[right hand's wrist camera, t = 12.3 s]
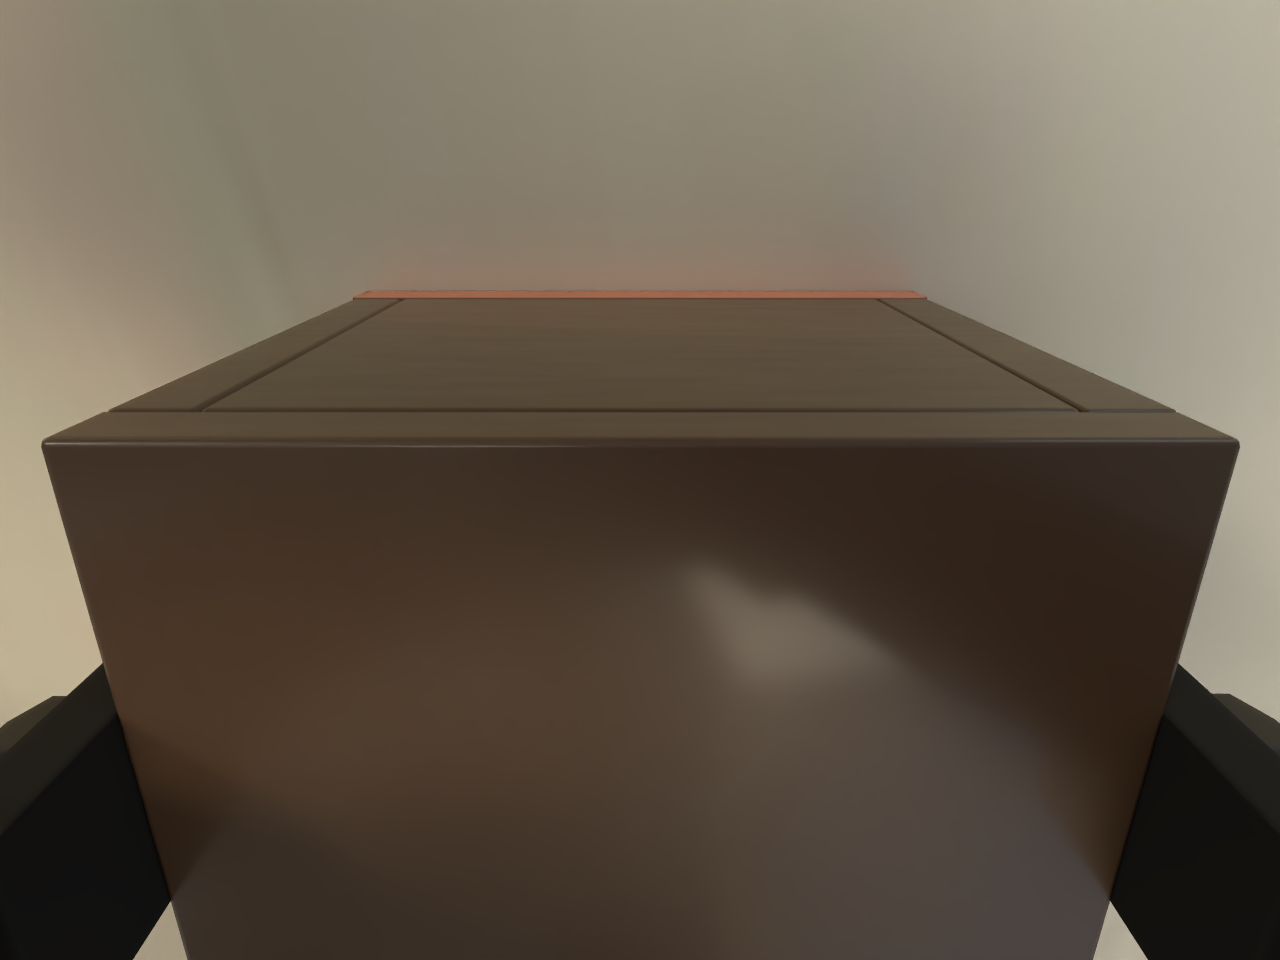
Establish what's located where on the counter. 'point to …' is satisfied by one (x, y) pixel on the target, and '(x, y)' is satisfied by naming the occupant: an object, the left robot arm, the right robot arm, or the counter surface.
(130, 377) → the counter surface
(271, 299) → the counter surface
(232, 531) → the cabinet
